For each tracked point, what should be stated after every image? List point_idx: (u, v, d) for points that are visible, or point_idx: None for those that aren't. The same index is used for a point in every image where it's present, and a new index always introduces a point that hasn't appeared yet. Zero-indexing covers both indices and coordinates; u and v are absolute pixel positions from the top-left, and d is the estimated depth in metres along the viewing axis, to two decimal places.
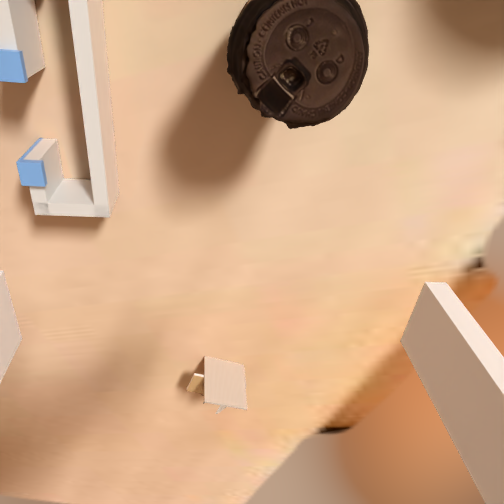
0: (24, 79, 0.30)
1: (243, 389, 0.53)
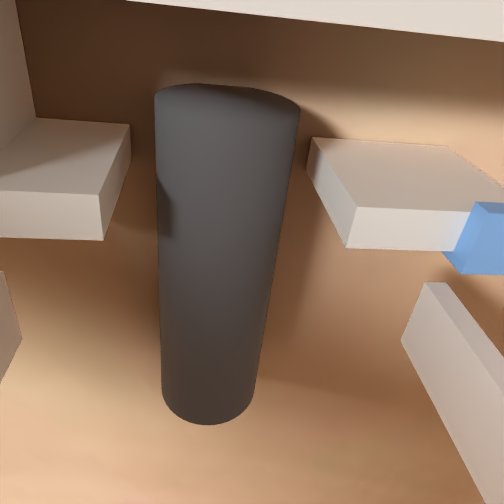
0: None
1: None
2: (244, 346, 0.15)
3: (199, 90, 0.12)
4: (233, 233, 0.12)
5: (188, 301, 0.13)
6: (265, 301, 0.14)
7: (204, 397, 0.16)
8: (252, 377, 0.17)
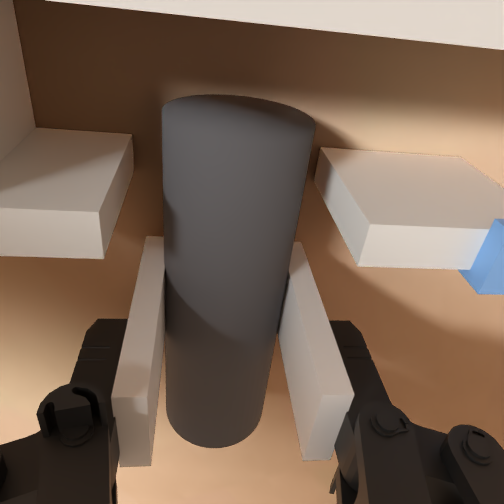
0: None
1: None
2: (251, 369, 0.14)
3: (210, 102, 0.12)
4: (240, 253, 0.11)
5: (192, 322, 0.13)
6: (274, 323, 0.14)
7: (208, 420, 0.15)
8: (259, 400, 0.16)
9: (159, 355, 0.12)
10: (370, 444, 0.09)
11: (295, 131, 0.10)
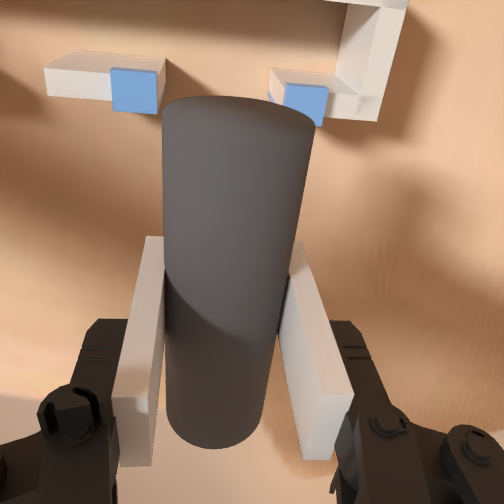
0: (151, 73, 0.19)
1: None
2: (251, 370, 0.14)
3: (210, 103, 0.12)
4: (240, 255, 0.11)
5: (192, 323, 0.13)
6: (274, 324, 0.14)
7: (208, 421, 0.15)
8: (259, 401, 0.16)
9: (159, 355, 0.12)
10: (370, 443, 0.09)
11: (295, 132, 0.10)
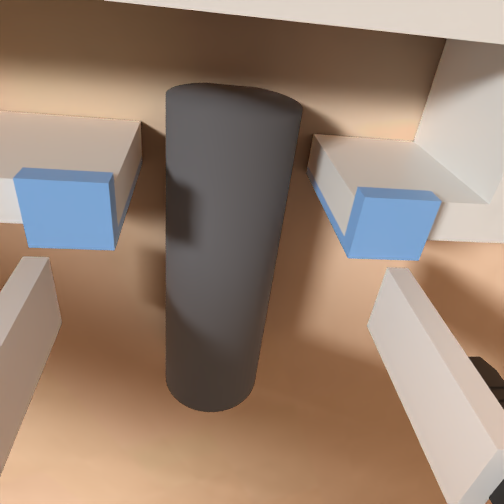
0: (98, 182, 0.09)
1: None
2: (243, 335, 0.15)
3: (210, 88, 0.13)
4: (232, 223, 0.12)
5: (190, 288, 0.14)
6: (265, 293, 0.15)
7: (203, 384, 0.16)
8: (251, 368, 0.17)
9: (11, 399, 0.10)
10: None
11: (283, 114, 0.12)
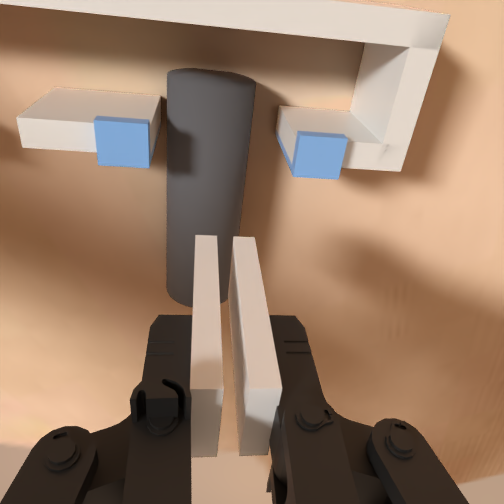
0: (142, 123, 0.16)
1: None
2: None
3: (202, 71, 0.20)
4: (198, 157, 0.19)
5: (174, 203, 0.21)
6: (228, 218, 0.21)
7: (183, 281, 0.23)
8: (221, 279, 0.23)
9: None
10: (296, 440, 0.09)
11: (234, 87, 0.18)
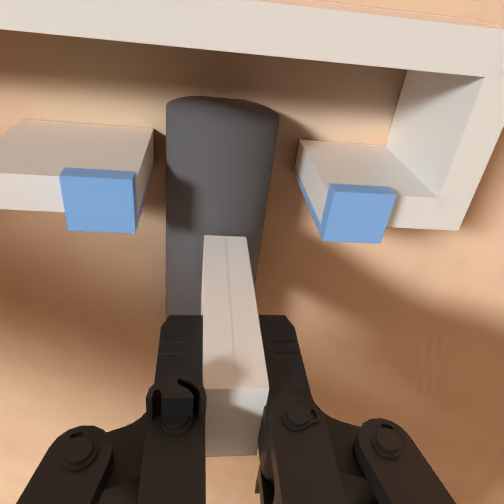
0: (124, 179, 0.12)
1: None
2: None
3: (208, 101, 0.16)
4: (210, 212, 0.15)
5: (179, 264, 0.17)
6: None
7: None
8: None
9: None
10: (283, 441, 0.09)
11: (255, 124, 0.14)
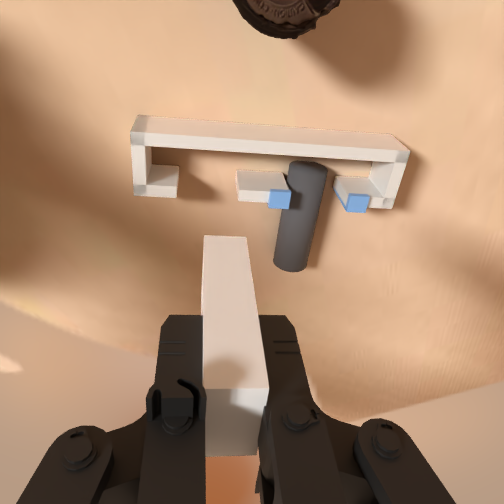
0: (288, 192, 0.41)
1: None
2: (301, 241, 0.46)
3: (303, 163, 0.44)
4: (301, 202, 0.44)
5: (286, 221, 0.45)
6: (310, 228, 0.46)
7: (285, 258, 0.48)
8: (303, 258, 0.48)
9: None
10: (283, 441, 0.09)
11: (319, 174, 0.42)
